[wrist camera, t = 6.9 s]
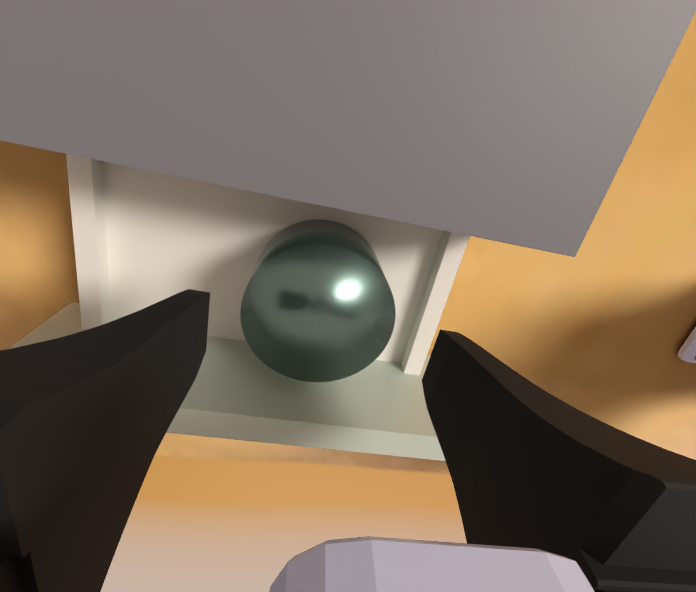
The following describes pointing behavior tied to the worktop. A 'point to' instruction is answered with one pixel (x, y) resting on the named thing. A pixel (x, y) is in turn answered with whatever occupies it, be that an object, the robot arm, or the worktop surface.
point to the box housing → (352, 100)
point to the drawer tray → (226, 296)
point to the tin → (318, 303)
